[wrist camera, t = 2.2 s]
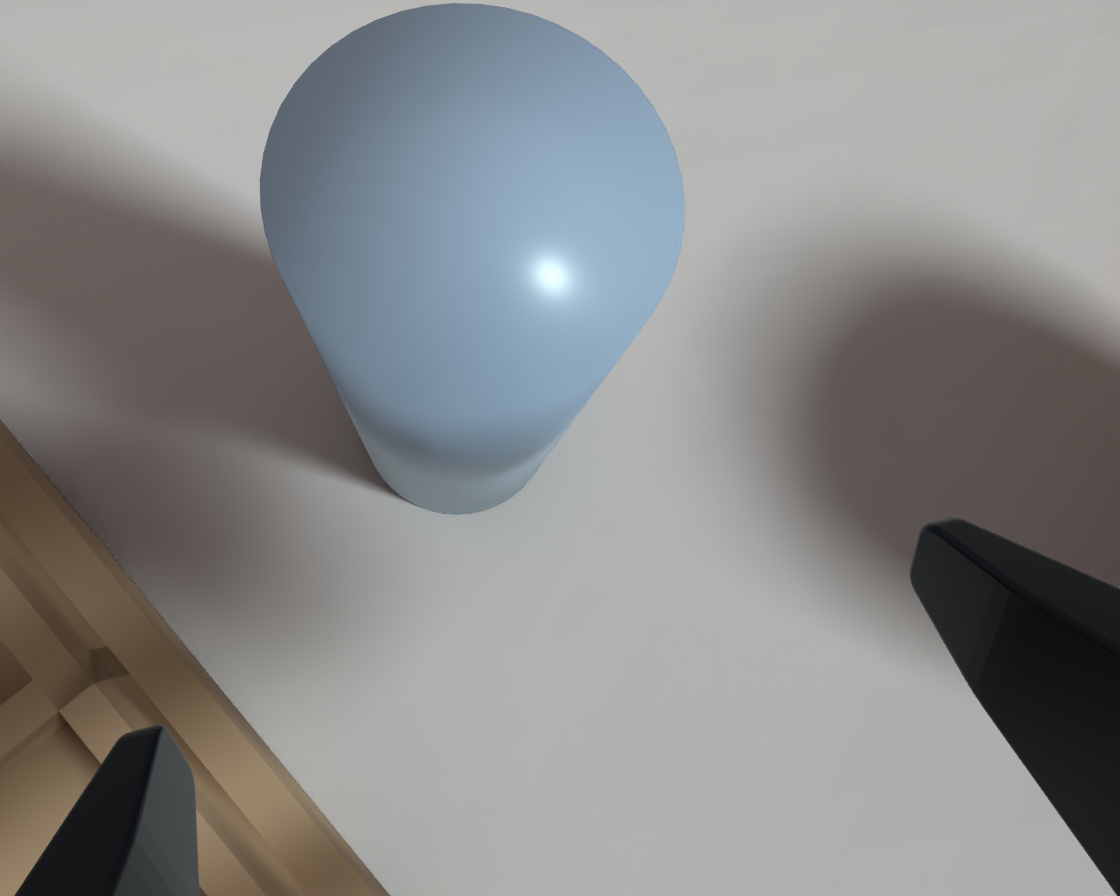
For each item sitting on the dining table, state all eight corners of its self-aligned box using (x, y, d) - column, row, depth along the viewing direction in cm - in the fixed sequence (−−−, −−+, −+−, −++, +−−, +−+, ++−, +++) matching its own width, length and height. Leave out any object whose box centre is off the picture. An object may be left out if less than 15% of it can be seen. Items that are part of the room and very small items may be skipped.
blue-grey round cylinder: (550, 514, 22) (694, 400, 9) (360, 514, 21) (249, 393, 9) (547, 336, 22) (675, 19, 10) (365, 331, 22) (269, -13, 10)
